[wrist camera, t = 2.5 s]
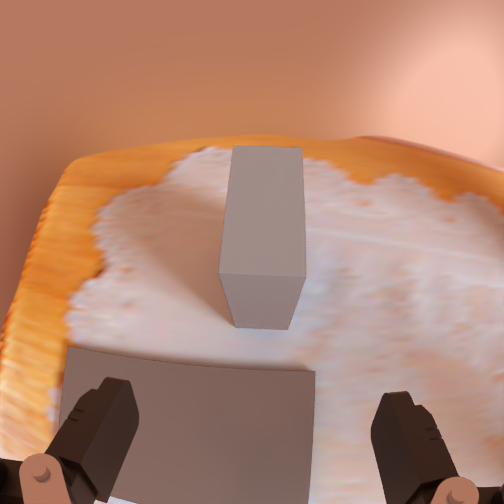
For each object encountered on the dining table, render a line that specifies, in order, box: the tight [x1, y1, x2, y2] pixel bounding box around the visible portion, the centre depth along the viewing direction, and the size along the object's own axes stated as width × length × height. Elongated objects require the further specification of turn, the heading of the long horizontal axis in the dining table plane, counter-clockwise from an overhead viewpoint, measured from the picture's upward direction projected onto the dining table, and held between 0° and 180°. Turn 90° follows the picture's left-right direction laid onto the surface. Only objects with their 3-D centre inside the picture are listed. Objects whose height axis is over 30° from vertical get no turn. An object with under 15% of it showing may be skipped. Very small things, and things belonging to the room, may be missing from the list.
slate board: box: [59, 346, 315, 504], centre depth 20 cm, size 20×12×1 cm, turn 87°
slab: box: [218, 146, 306, 330], centre depth 22 cm, size 8×4×11 cm, turn 177°
